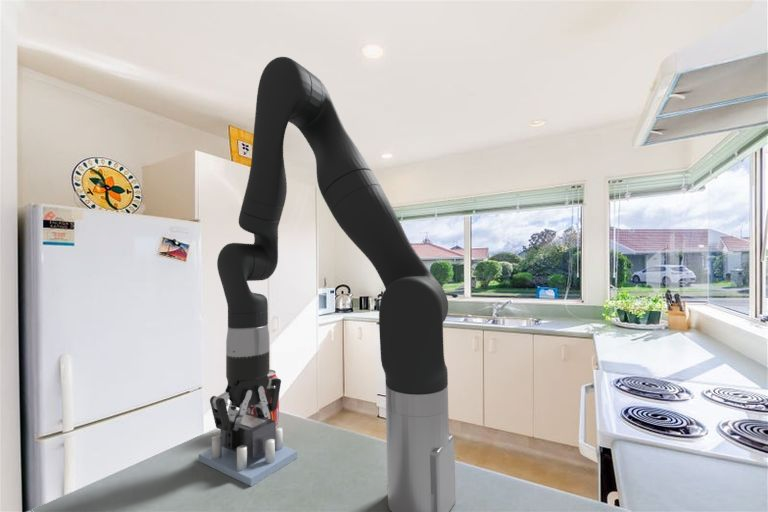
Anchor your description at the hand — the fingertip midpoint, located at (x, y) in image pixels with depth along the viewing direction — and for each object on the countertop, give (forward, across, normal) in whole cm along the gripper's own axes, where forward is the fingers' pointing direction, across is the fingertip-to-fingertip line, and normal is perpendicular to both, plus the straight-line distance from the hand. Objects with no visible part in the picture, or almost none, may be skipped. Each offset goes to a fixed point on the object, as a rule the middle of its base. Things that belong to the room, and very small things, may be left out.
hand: (248, 443), depth 64 cm
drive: (0, 0, 0) cm, 0 cm away
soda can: (+3, +10, +9) cm, 14 cm away
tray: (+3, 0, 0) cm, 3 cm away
